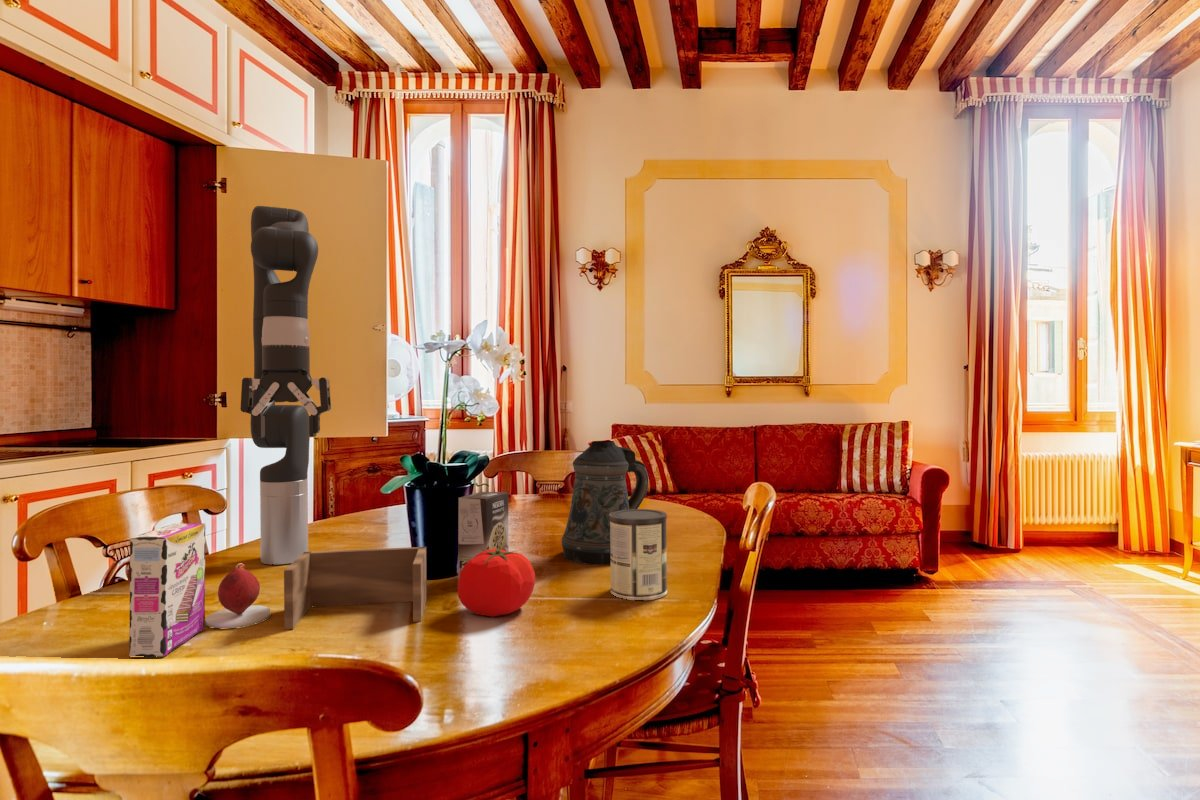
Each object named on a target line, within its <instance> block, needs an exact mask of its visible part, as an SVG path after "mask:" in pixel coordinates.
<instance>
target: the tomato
mask: <svg viewBox="0 0 1200 800" xmlns="http://www.w3.org/2000/svg"><path fill="white" fill-rule="evenodd" d="M480 549H481V548H480ZM482 550H484V549H482ZM535 585H536V573H535V569H534V567H533V565H532V562H531V561H530V560H529V559H528V558H527V557H526V556H525V555H524V554H522V553H519V552H518V551H517V550H516V551H515V550H514V551H509V552H508V551H505V550H501V549H500V548H497V549H487V550H484V551H482V552H481V553H479V554H477V555H475V557H474V558H473V559H471V560H470V561H468V562H467V563H466V564H465V566H464V567H463V569H462V570H461V571H460V576H459V581H458V582H457V596H458V599H459V601H460V603H461V605H463V606H464V607H465V608H466V610H468V611H470V612H471V613H473V614H475V615H482V616H487V617H491V618H492V617H498V616H504V615H508V614H511V613H514V612H517V611H518V610H519V609H521V608H522V607H523V606H524V605H525V604H526V603H527V602H528V601H529V600H530V598H531V596H532V594H533V591H534V588H535Z"/></svg>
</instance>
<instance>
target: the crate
mask: <svg viewBox="0 0 1200 800" xmlns="http://www.w3.org/2000/svg"><path fill="white" fill-rule="evenodd" d="M427 567H428V565H427V546H416V547H415V546H413V547H393V548H392V547H391V548H387V547H386V548H370V549H369V548H367V549H345V550H344V549H342V550H339V549H338V550H319V551H318V550H317V551H308V552H304V553H303V554H301V555H300V556H299V557H298V558H297V559H296V560H295V561H294V562H293V563H290V564H289V565H288V566H287V567H286V568H285V569H283V597H284V598H283V603H284V604H283V607H284V613H283V615H284V616H283V617H284V623H283V624H284V626H283V627H284V630H285V629H286V630H285V631H288V630H287V629H292V630H294V628H295V627H296V626H297V625H298V623H300V621H301V620H302V619H303V617H304V616H305V615H306V613H307V612H308V611H309V610H308V609H310V608H315V607H314V606H320V607H333V606H351V605H369V604H370V605H371V604H386V603H402V602H403V603H404V602H412V622H413V623H415V622H416V623H417V622H422V619H423V615H424V611H425V607H426V603H427V600H428V591H427V589H428V587H427V584H428V583H427V577H428V576H427V569H428V568H427ZM312 606H313V607H312Z"/></svg>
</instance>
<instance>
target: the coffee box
mask: <svg viewBox="0 0 1200 800" xmlns="http://www.w3.org/2000/svg"><path fill="white" fill-rule="evenodd" d="M509 494H510V493H509V492H505V491H503V492H500V491H488V492H487V491H480V492H476V493H471V494H468V495H464V496H461V497H458V513H457V514H458V516H457V517H458V519H457V520H458V521H457V523H458V526H457V528H458V529H457V531H458V533H457V534H458V535H457V536H458V537H457V539H458V540H457V542H458V545H457V551H458V552H457V553H458V554H457V555H458V561H457V562H458V563H457V565H458V566H457V567H458V568H457V573H458V574H457V579H458V580H457V581H458V582H459V576H460V571H461V570H462V569H463V567H464V566H465V564H466V563H467V562H468V561H470V560H471V559H473V558H474V557H475V555H477V554H479V553H481V552H482V551H484V550H487V549H497V548H500V549H501V550H505V551H508V552H510V550H509V548H510V547H509V544H510V542H509ZM480 548H481V549H480ZM482 549H484V550H482Z"/></svg>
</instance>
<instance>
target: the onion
mask: <svg viewBox="0 0 1200 800" xmlns="http://www.w3.org/2000/svg"><path fill="white" fill-rule="evenodd" d="M217 588H218V589H217V598H218V601H219V603H220V605H221V606H222V607H223V608H224V609H228V610H229V611H232V612H234V613H236V614H242V613H243V612H244V611H245V610H246V609H247V608H248V607H249V606H251V605H254V603H255V601H256V600H257V599H258V597H259V595H260V591H261V586H260V582H259V580H258V579H257V577H256V575H254V574H253V573H252V572H251V571H249V570H247V569H246V568H245V564H244V563H242V562H240V563H237V564H236V565H235V567H234V568H233V569H232V570H231V571H230V572H228V573H227V574H226V575H225V576H224V578H222V579H221V582H220V583H219V586H218V587H217Z"/></svg>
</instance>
